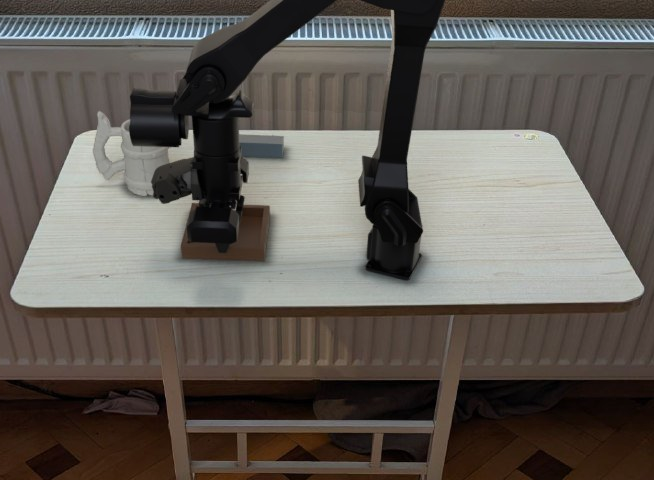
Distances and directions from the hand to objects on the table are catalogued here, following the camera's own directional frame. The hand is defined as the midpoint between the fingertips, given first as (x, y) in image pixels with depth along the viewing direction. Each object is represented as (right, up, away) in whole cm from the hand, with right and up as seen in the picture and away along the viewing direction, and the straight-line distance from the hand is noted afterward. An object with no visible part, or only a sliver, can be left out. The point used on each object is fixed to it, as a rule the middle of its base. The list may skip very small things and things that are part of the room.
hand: (222, 252), depth 115 cm
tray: (0, +3, +6) cm, 7 cm away
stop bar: (+1, +21, +24) cm, 32 cm away
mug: (-15, +13, +16) cm, 26 cm away
